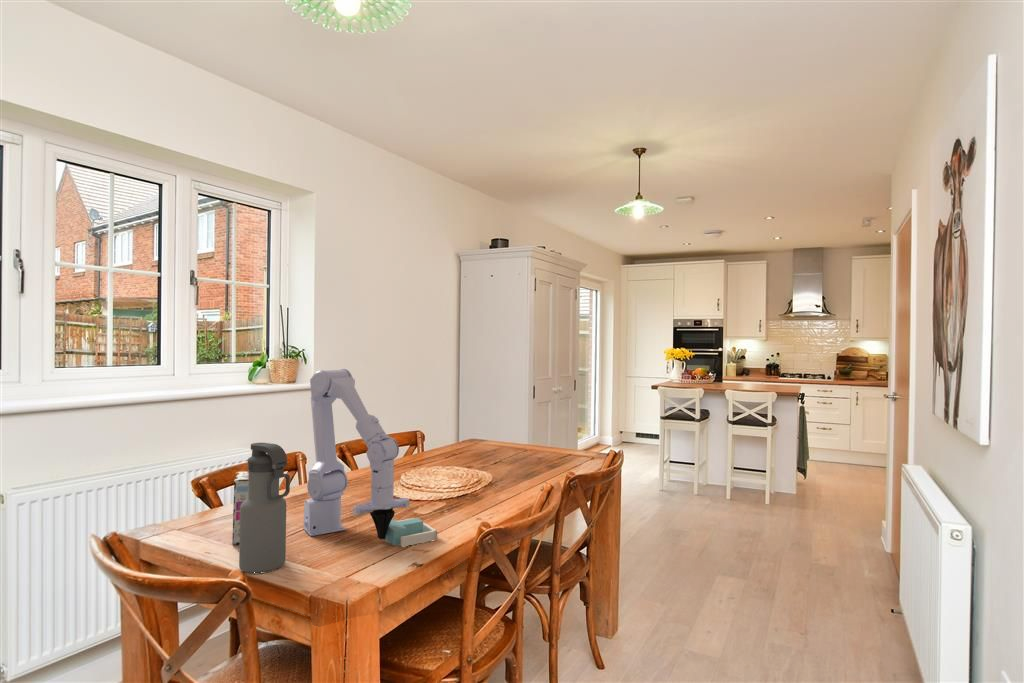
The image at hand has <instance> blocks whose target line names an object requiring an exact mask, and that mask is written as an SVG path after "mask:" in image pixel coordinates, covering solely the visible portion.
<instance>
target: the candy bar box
mask: <svg viewBox="0 0 1024 683" xmlns="http://www.w3.org/2000/svg"><path fill="white" fill-rule="evenodd" d="M247 498H248V472H247V471H244V470H243V471H238V472H237V475H235V478H234V480H233V506H232V508H233V509H232V511H233V513H232V514H233V515H232V543H231V545H234V546H235V544H236V545H239V544H240V506H241V504H242V502H243V501H244V500H246V499H247Z"/></svg>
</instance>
